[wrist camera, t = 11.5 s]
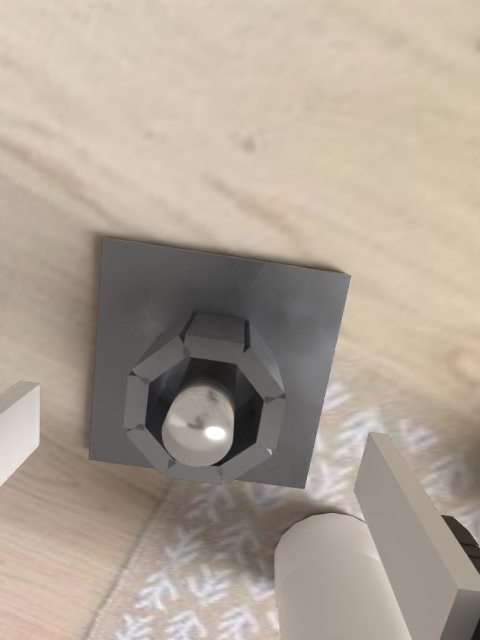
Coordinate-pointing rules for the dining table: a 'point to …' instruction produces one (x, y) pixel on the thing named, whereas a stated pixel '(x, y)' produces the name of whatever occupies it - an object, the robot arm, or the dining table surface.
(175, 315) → the piston jig
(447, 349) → the dining table surface
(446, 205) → the dining table surface
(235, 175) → the dining table surface
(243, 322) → the ring
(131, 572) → the dining table surface
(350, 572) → the bottle
